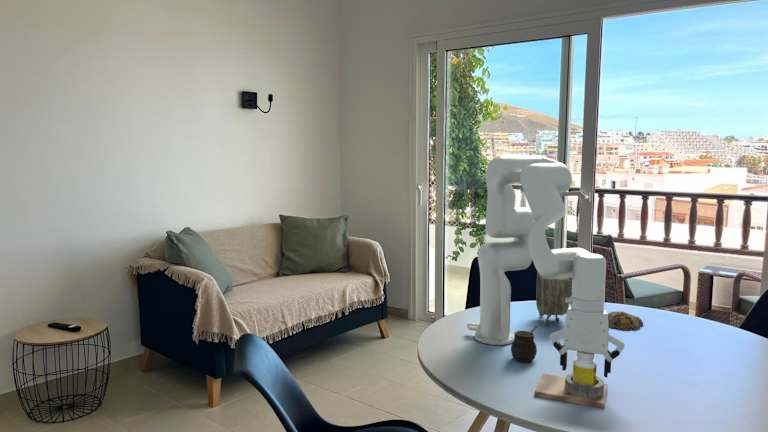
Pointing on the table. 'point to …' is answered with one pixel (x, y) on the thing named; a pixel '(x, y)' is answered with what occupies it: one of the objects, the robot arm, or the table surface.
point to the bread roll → (624, 321)
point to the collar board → (561, 394)
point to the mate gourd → (524, 346)
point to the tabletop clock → (551, 297)
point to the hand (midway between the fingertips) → (584, 371)
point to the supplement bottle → (584, 369)
